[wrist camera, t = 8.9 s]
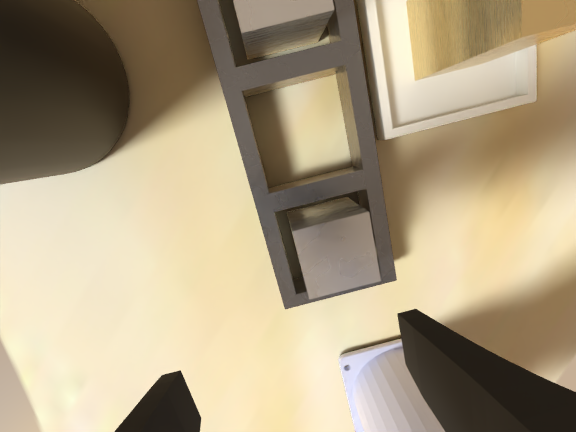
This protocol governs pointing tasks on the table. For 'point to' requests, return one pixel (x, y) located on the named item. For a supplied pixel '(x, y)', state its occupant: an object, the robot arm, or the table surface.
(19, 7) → the mug
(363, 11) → the parts tray
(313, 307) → the table surface
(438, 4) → the wooden block
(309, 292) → the rail
